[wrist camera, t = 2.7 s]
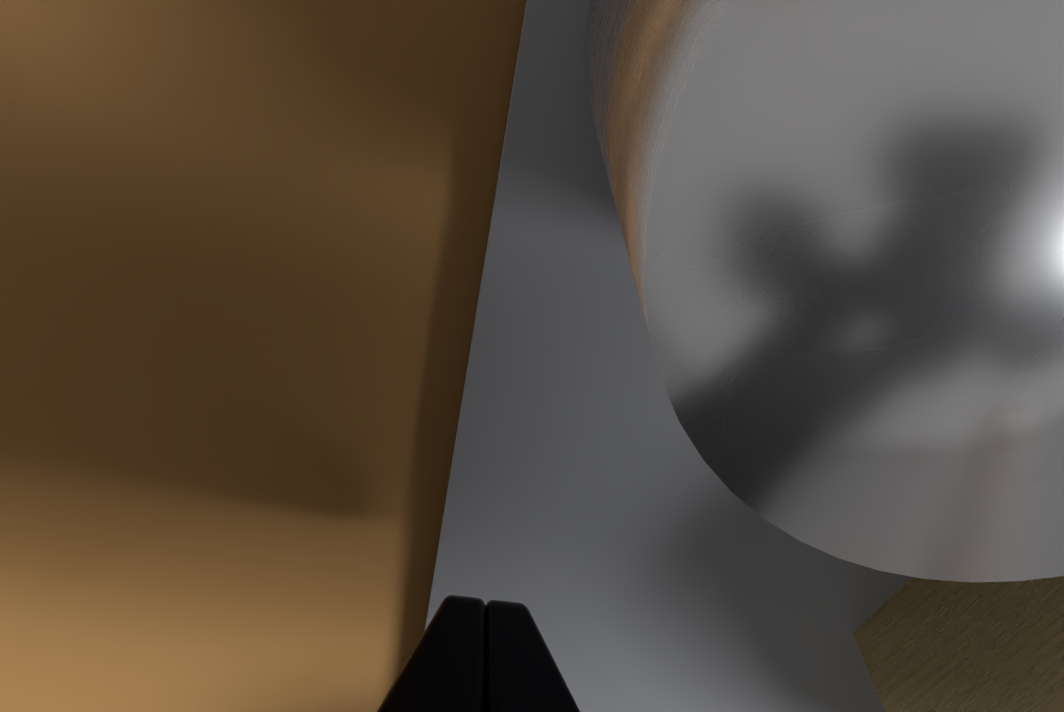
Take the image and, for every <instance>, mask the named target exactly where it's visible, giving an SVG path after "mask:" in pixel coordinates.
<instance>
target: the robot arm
mask: <svg viewBox="0 0 1064 712" xmlns="http://www.w3.org/2000/svg"><path fill="white" fill-rule="evenodd" d="M377 712H580V710H579V708H578V706H577V704H576V702H575V700H574V698H573V696H572V694H571V692H570V690H569V688H568V686H567V684H566V682H565V680H564V679H563V677H562V675H561V673H560V671H559V669H558V667H557V665H556V663H555V661H554V659H553V657H552V655H551V653H550V651H549V649H548V647H547V645H546V643H545V641H544V639H543V637H542V635H541V633H540V631H539V629H538V627H537V625H536V623H535V621H534V619H533V617H532V615H531V613H530V611H529V610H528V608H527V607H526V606H525V605H524V604H522V603H517V602H508V601H500V600H490V601H488V602H487V604H486V605H485V603H484V601H483V600H482V599H480V598H474V597H466V596H457V595H449V596H447V597H446V598H445V599H444V600H443V601H442V603H441V605H440V606H439V608H438V610H437V611H436V613H435V615H434V616H433V618H432V620H431V621H430V623H429V625H428V626H427V628H426V630H425V631H424V633H423V635H422V636H421V638H420V640H419V641H418V643H417V645H416V647H415V648H414V650H413V652H412V653H411V655H410V657H409V658H408V660H407V662H406V663H405V665H404V667H403V668H402V670H401V672H400V673H399V675H398V677H397V678H396V680H395V682H394V683H393V685H392V687H391V688H390V690H389V692H388V693H387V695H386V697H385V699H384V700H383V702H382V704H381V705H380V707H379V709H378V710H377Z"/></svg>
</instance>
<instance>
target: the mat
mask: <svg viewBox="0 0 1064 712" xmlns="http://www.w3.org/2000/svg"><path fill="white" fill-rule="evenodd" d="M591 1H592V0H526V6H525V13H524V19H523V25H522V31H521V37H520V43H519V50H518V56H517V62H516V68H515V74H514V81H513V87H512V93H511V99H510V105H509V111H508V118H507V124H506V130H505V136H504V142H503V148H502V155H501V161H500V167H499V173H498V179H497V185H496V192H495V198H494V204H493V210H492V216H491V222H490V229H489V235H488V241H487V247H486V253H485V260H484V266H483V272H482V278H481V284H480V290H479V297H478V303H477V309H476V315H475V321H474V327H473V334H472V340H471V346H470V352H469V358H468V364H467V371H466V377H465V383H464V389H463V395H462V401H461V408H460V414H459V420H458V426H457V432H456V439H455V445H454V451H453V457H452V463H451V469H450V476H449V482H448V488H447V494H446V500H445V506H444V513H443V519H442V525H441V531H440V537H439V543H438V550H437V556H436V562H435V568H434V574H433V580H432V587H431V593H430V599H429V605H428V611H427V618H426V624H425V630H426V628H427V626H428V625H429V623H430V621H431V620H432V618H433V616H434V615H435V613H436V611H437V610H438V608H439V606H440V605H441V603H442V601H443V600H444V599H445V598H446V597H447V596H449V595H457V596H466V597H474V598H480V599H482V600H483V601H484V603H485V605H486V604H487V602H488V601H490V600H500V601H508V602H517V603H522V604H524V605H525V606H526V607H527V608H528V610H529V611H530V613H531V615H532V617H533V619H534V621H535V623H536V625H537V627H538V629H539V631H540V633H541V635H542V637H543V639H544V641H545V643H546V645H547V647H548V649H549V651H550V653H551V655H552V657H553V659H554V661H555V663H556V665H557V667H558V669H559V671H560V673H561V675H562V677H563V679H564V680H565V682H566V684H567V686H568V688H569V690H570V692H571V694H572V696H573V698H574V700H575V702H576V704H577V706H578V708H579V710H580V712H885V709H884V707H883V704H882V702H881V700H880V697H879V695H878V693H877V690H876V688H875V685H874V683H873V681H872V678H871V676H870V673H869V671H868V669H867V666H866V664H865V662H864V659H863V657H862V654H861V652H860V650H859V647H858V645H857V643H856V640H855V638H854V635H853V632H854V631H855V630H856V629H857V628H858V627H859V626H861V625H862V624H863V623H864V622H865V621H866V620H867V619H868V618H869V617H870V616H871V615H872V614H873V613H875V612H876V611H877V610H878V609H879V608H880V607H881V606H882V605H883V604H884V603H885V602H886V601H887V600H889V599H890V598H891V597H892V596H893V595H894V594H895V593H896V592H897V591H898V590H899V589H900V588H901V587H903V586H904V585H905V584H906V583H907V582H908V581H909V580H910V579H911V578H912V577H911V576H905V575H900V574H894V573H889V572H883V571H879V570H876V569H872V568H869V567H866V566H862V565H859V564H856V563H853V562H849V561H846V560H843V559H839V558H837V557H835V556H832V555H830V554H828V553H826V552H823V551H821V550H819V549H817V548H814V547H812V546H810V545H808V544H805V543H803V542H801V541H799V540H797V539H796V538H794V537H792V536H791V535H789V534H788V533H786V532H784V531H783V530H781V529H779V528H778V527H776V526H775V525H773V524H771V523H770V522H768V521H767V520H765V519H763V518H762V517H761V516H760V515H759V514H757V513H756V512H755V511H754V510H753V509H751V508H750V507H749V506H748V505H747V504H745V503H744V502H743V501H742V500H741V499H739V498H738V497H737V496H736V495H735V494H733V493H732V492H731V491H730V490H729V489H728V487H727V486H726V485H725V484H724V483H723V482H722V481H721V479H720V478H719V477H718V476H717V475H716V474H715V473H714V471H713V470H712V469H711V468H710V467H709V466H708V465H707V464H706V462H705V461H704V460H703V459H702V457H701V456H700V454H699V452H698V451H697V449H696V448H695V446H694V445H693V443H692V441H691V440H690V438H689V437H688V435H687V434H686V432H685V430H684V429H683V427H682V426H681V424H680V423H679V420H678V418H677V416H676V413H675V411H674V409H673V406H672V404H671V402H670V399H669V397H668V395H667V392H666V390H665V388H664V385H663V383H662V381H661V377H660V373H659V370H658V366H657V362H656V358H655V354H654V351H653V347H652V343H651V339H650V335H649V332H648V328H647V324H646V320H645V316H644V313H643V309H642V305H641V301H640V297H639V294H638V290H637V286H636V282H635V278H634V275H633V271H632V267H631V263H630V259H629V256H628V252H627V248H626V244H625V240H624V237H623V233H622V229H621V225H620V221H619V218H618V214H617V210H616V206H615V202H614V199H613V195H612V191H611V187H610V183H609V180H608V176H607V172H606V168H605V164H604V161H603V157H602V153H601V149H600V145H599V142H598V138H597V134H596V130H595V126H594V122H593V118H592V115H591V111H590V107H589V101H588V93H587V84H586V76H585V40H586V33H587V25H588V18H589V10H590V5H591ZM425 630H424V631H425Z"/></svg>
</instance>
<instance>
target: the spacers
mask: <svg viewBox="0 0 1064 712" xmlns="http://www.w3.org/2000/svg"><path fill="white" fill-rule="evenodd" d="M585 76H586V84H587V93H588V101H589V107H590V111H591V115H592V118H593V122H594V126H595V130H596V134H597V138H598V142H599V145H600V149H601V153H602V157H603V161H604V164H605V168H606V172H607V176H608V180H609V183H610V187H611V191H612V195H613V199H614V202H615V206H616V210H617V214H618V218H619V221H620V225H621V229H622V233H623V237H624V240H625V244H626V248H627V252H628V256H629V259H630V263H631V267H632V271H633V275H634V278H635V282H636V286H637V290H638V294H639V297H640V301H641V305H642V309H643V313H644V316H645V320H646V324H647V328H648V332H649V335H650V339H651V343H652V347H653V351H654V354H655V358H656V362H657V366H658V370H659V373H660V377H661V381H662V383H663V385H664V388H665V390H666V392H667V395H668V397H669V399H670V402H671V404H672V406H673V409H674V411H675V413H676V416H677V418H678V420H679V423H680V424H681V426H682V427H683V429H684V430H685V432H686V434H687V435H688V437H689V438H690V440H691V441H692V443H693V445H694V446H695V448H696V449H697V451H698V452H699V454H700V456H701V457H702V459H703V460H704V461H705V462H706V464H707V465H708V466H709V467H710V468H711V469H712V470H713V471H714V473H715V474H716V475H717V476H718V477H719V478H720V479H721V481H722V482H723V483H724V484H725V485H726V486H727V487H728V489H729V490H730V491H731V492H732V493H733V494H735V495H736V496H737V497H738V498H739V499H741V500H742V501H743V502H744V503H745V504H747V505H748V506H749V507H750V508H751V509H753V510H754V511H755V512H756V513H757V514H759V515H760V516H761V517H762V518H763V519H765V520H767V521H768V522H770V523H771V524H773V525H775V526H776V527H778V528H779V529H781V530H783V531H784V532H786V533H788V534H789V535H791V536H792V537H794V538H796V539H797V540H799V541H801V542H803V543H805V544H808V545H810V546H812V547H814V548H817V549H819V550H821V551H823V552H826V553H828V554H830V555H832V556H835V557H837V558H839V559H843V560H846V561H849V562H853V563H856V564H859V565H862V566H866V567H869V568H872V569H876V570H879V571H883V572H889V573H894V574H900V575H905V576H911V577H916V578H922V579H931V580H945V581H959V582H1007V581H1025V580H1033V579H1042V578H1051V577H1059V576H1064V0H592V1H591V5H590V10H589V18H588V25H587V33H586V40H585Z"/></svg>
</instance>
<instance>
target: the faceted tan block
mask: <svg viewBox="0 0 1064 712" xmlns="http://www.w3.org/2000/svg"><path fill="white" fill-rule="evenodd" d="M853 635H854V638H855V640H856V643H857V645H858V647H859V650H860V652H861V654H862V657H863V659H864V662H865V664H866V666H867V669H868V671H869V673H870V676H871V678H872V681H873V683H874V685H875V688H876V690H877V693H878V695H879V697H880V700H881V702H882V704H883V707H884V709H885V712H1064V576H1059V577H1051V578H1042V579H1033V580H1025V581H1007V582H959V581H945V580H931V579H922V578H916V577H912V578H911V579H910V580H909V581H908V582H907V583H906V584H905V585H904V586H903V587H901V588H900V589H899V590H898V591H897V592H896V593H895V594H894V595H893V596H892V597H891V598H890V599H889V600H887V601H886V602H885V603H884V604H883V605H882V606H881V607H880V608H879V609H878V610H877V611H876V612H875V613H873V614H872V615H871V616H870V617H869V618H868V619H867V620H866V621H865V622H864V623H863V624H862V625H861V626H859V627H858V628H857V629H856V630H855V631H854V632H853Z"/></svg>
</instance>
